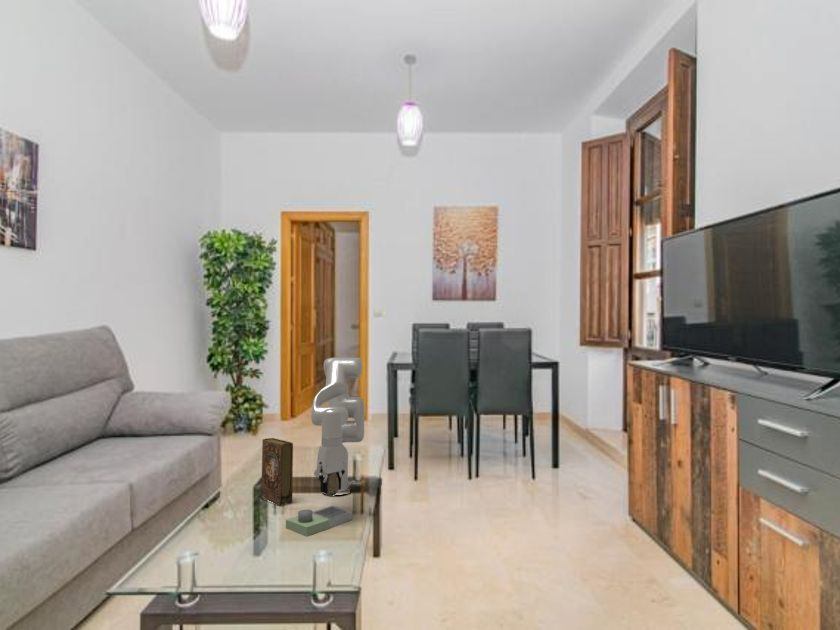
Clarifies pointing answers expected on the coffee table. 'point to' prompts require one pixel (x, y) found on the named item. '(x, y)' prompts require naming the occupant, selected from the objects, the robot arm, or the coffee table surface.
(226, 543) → the coffee table surface
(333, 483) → the decorative egg
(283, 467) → the book
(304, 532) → the deck
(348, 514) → the tray
